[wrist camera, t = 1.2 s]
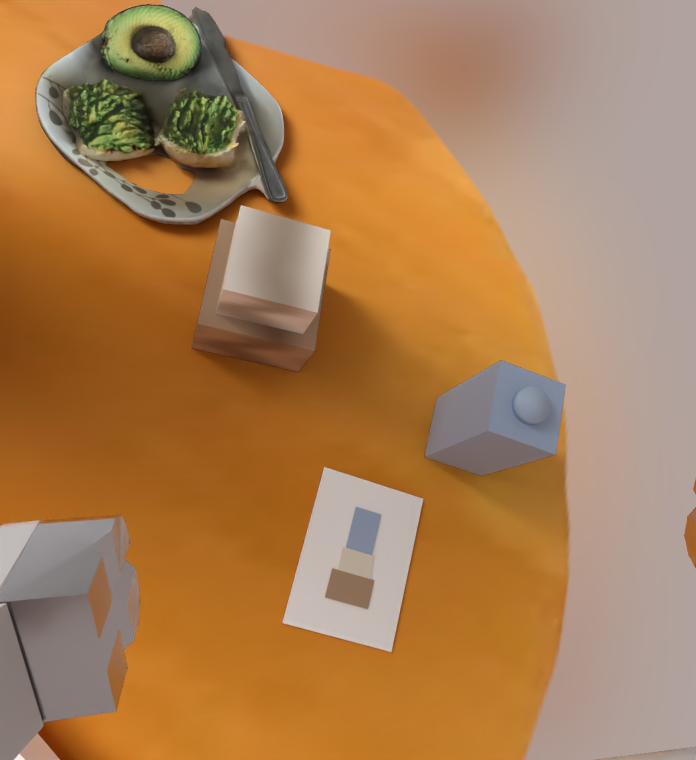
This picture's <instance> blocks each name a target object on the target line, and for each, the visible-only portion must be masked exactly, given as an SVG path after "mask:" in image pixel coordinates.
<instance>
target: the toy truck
mask: <svg viewBox="0 0 696 760" xmlns="http://www.w3.org/2000/svg"><path fill="white" fill-rule="evenodd" d="M14 760H60V759H59V758H58V757H57V756H56V754H55V753H54V752H53V751H52V750H51V748H50V747H49V746H48V745H47V744H46V743H45V741H44V740H43V739H42V738H41V737H40V736H39V734H38V733H37V734H36V735H35V737H34V738H33V739H32V740H31V741H30V742H29V743H28V744H27V746H26V747H25V748H24V749H23V750H22V751H21V752H20V753H19V754H18V756H17V757H16V758H15V759H14Z"/></svg>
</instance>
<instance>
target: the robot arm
mask: <svg viewBox="0 0 696 760" xmlns="http://www.w3.org/2000/svg"><path fill="white" fill-rule="evenodd" d="M693 490H694V492H695V494H696V480H695V485H694V489H693ZM684 536H685V541H686V546H687V551H688V555H689V557H690V559H691V560H692V562H693V564H694V566H695V568H696V507H695V508H694V509H693V511H692V512H691V513H690V514H689V515H688V517H687V523H686V529H685V535H684ZM129 544H130V538H129V534H128V530H127V526H126V521H125V520H124V519H123V517H122V516H121V515H112V516H97V517H83V518H68V519H53V520H44V521H41V520H37V521H26V522H16V523H6V524H3V525H1V526H0V760H14V759H15V758H16V757H17V756H18V754H19V753H20V752H21V751H22V750H23V749H24V748H25V747H26V746H27V744H28V743H29V742H30V741H31V740H32V739H33V738H34V737H35V735H36V734H37V733H38V732H39V731H40V730H41V729H42V728H43V726H44V725H43V722H48V721H55V720H62V719H69V718H76V717H83V716H90V715H97V714H104V713H111V712H116V711H117V707H118V703H119V699H120V695H121V691H122V687H123V683H124V679H125V675H126V672H127V668H128V667H127V663H126V658H125V653H124V649H125V648H126V647H128V646H129V645H130V644H131V643H132V642H133V641H134V639H135V635H136V631H137V626H138V619H139V605H140V597H139V584H138V578H137V573H136V568H135V567H133V566H132V565H131V564H130V563H129V562H128V561H126V560H125V557H126V554H127V551H128V547H129ZM598 760H696V747H690V748H682V749H674V750H667V751H659V752H652V753H644V754H636V755H629V756H621V757H613V758H605V759H598Z"/></svg>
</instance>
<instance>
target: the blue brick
mask: <svg viewBox="0 0 696 760" xmlns="http://www.w3.org/2000/svg"><path fill="white" fill-rule="evenodd" d="M565 386H566V385H565V384H563V383H560V382H557V381H555V380H552V379H549V378H547V377H544V376H542V375H539V374H536V373H534V372H531V371H528V370H526V369H523V368H521V367H518V366H515V365H513V364H510V363H507V362H505V361H502V360H500V361H498V362H497V363H495V364H493V365H492V366H490V367H488V368H486V369H485V370H483V371H481V372H480V373H478V374H476V375H475V376H473V377H471V378H470V379H468V380H466V381H464V382H463V383H461V384H459V385H458V386H456V387H454V388H453V389H451V390H449V391H447V392H446V393H444V394H442V395H441V396H439V397H437V400H436V404H435V409H434V414H433V418H432V423H431V428H430V432H429V437H428V442H427V446H426V451H425V456H424V457H426V458H429V459H432V460H435V461H438V462H441V463H444V464H447V465H450V466H453V467H456V468H459V469H462V470H465V471H468V472H471V473H474V474H477V475H480V476H483V475H487V474H490V473H494V472H497V471H501V470H504V469H508V468H511V467H515V466H518V465H522V464H525V463H529V462H532V461H536V460H539V459H543V458H546V457H550V456H553V455H556V451H557V444H558V437H559V429H560V422H561V415H562V408H563V401H564V393H565Z"/></svg>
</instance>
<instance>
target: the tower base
mask: <svg viewBox="0 0 696 760" xmlns="http://www.w3.org/2000/svg"><path fill="white" fill-rule="evenodd" d="M330 232H331V230H327V229H324V228H320V227H317V226H313V225H310V224H306V223H303V222H299V221H296V220H292V219H289V218H285V217H281V216H278V215H274V214H271V213H267V212H264V211H260V210H257V209H253V208H250V207H246V206H243V205H241V207H240V211H239V214H238V218H237V221H236V223H234V222H231V221H227V220H223V219H221V221H220V225H219V229H218V234H217V238H216V242H215V246H214V251H213V255H212V260H211V264H210V268H209V273H208V277H207V282H206V286H205V291H204V295H203V300H202V304H201V309H200V313H199V318H198V322H197V327H196V331H195V335H194V340H193V344H192V348H194V349H198V350H202V351H207V352H211V353H216V354H220V355H225V356H229V357H234V358H238V359H243V360H247V361H251V362H256V363H260V364H265V365H269V366H274V367H278V368H283V369H287V370H292V371H296V372H299V370H300V369H301V368H302V367H303V365H304V364H305V363H306V361H307V360H308V359H309V358H310V356H311V355H312V354H313V353H314V351H315V346H316V340H317V334H318V327H319V321H320V314H321V308H322V302H323V295H324V289H325V283H326V276H327V270H328V264H329V257H330V251H331V249H329V248H328V245H329V238H330Z"/></svg>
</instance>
